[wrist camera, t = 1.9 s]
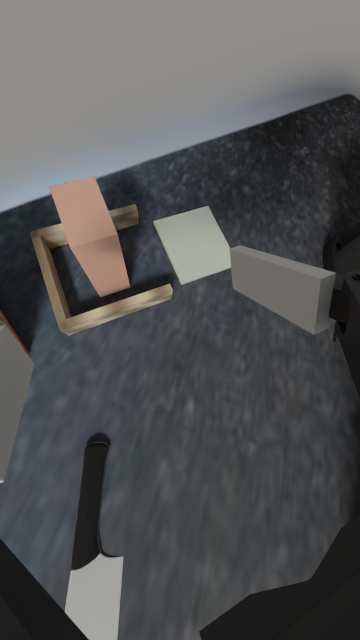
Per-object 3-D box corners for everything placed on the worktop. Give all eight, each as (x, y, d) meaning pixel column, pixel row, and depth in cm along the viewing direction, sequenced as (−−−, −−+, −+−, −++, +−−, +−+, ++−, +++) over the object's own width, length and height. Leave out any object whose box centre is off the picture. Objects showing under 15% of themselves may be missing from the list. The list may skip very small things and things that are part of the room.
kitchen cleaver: (124, 793, 23) (11, 825, 21) (124, 766, 25) (19, 794, 23) (151, 444, 32) (73, 443, 30) (150, 441, 34) (76, 440, 32)
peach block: (114, 246, 40) (94, 176, 27) (130, 287, 38) (117, 234, 25) (85, 255, 39) (49, 186, 26) (100, 297, 37) (70, 247, 24)
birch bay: (136, 218, 42) (135, 204, 39) (171, 298, 38) (172, 290, 35) (40, 245, 39) (29, 231, 35) (68, 335, 35) (59, 330, 32)
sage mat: (207, 207, 44) (207, 205, 44) (237, 265, 41) (238, 264, 41) (153, 222, 42) (153, 221, 42) (181, 285, 39) (181, 284, 39)
